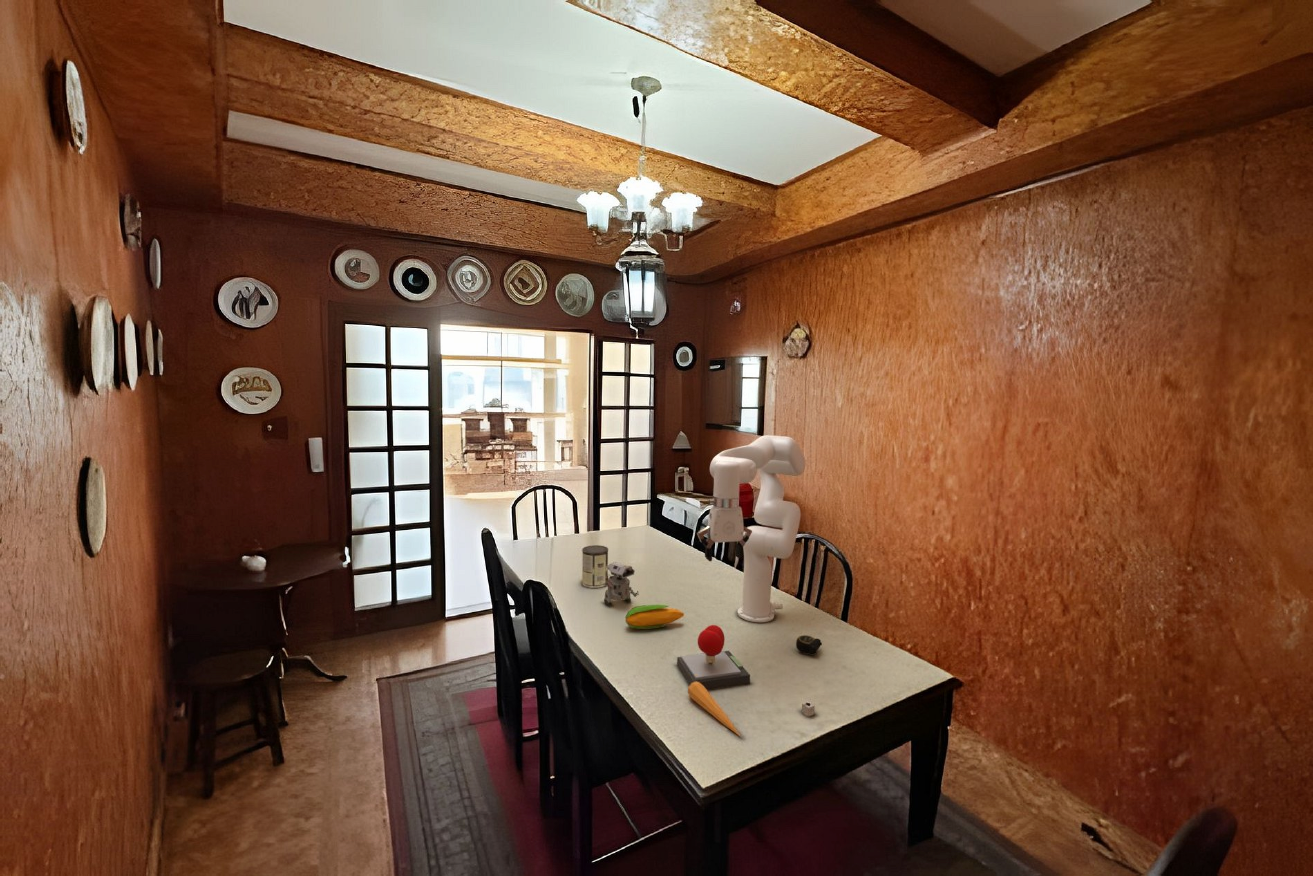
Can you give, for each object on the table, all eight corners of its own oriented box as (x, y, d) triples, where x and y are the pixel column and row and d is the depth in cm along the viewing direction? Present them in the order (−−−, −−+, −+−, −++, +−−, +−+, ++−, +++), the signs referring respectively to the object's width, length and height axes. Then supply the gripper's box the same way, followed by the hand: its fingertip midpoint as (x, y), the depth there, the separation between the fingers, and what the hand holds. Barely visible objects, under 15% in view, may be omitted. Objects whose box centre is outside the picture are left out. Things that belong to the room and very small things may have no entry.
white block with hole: (801, 712, 138) (802, 702, 138) (808, 710, 139) (808, 700, 139) (807, 716, 136) (808, 707, 136) (814, 714, 137) (814, 704, 137)
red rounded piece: (714, 674, 148) (715, 638, 147) (691, 666, 152) (692, 631, 151) (728, 659, 156) (730, 625, 155) (706, 653, 160) (707, 619, 159)
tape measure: (814, 659, 165) (815, 647, 164) (792, 652, 168) (793, 640, 168) (821, 650, 170) (822, 638, 170) (799, 643, 174) (800, 632, 174)
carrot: (687, 698, 144) (683, 685, 142) (701, 688, 145) (697, 675, 144) (735, 750, 127) (731, 736, 125) (750, 738, 129) (747, 724, 127)
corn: (623, 602, 184) (680, 597, 189) (622, 623, 185) (679, 618, 190) (628, 613, 176) (687, 607, 182) (627, 635, 178) (686, 628, 183)
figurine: (615, 613, 194) (616, 571, 192) (602, 601, 204) (602, 561, 202) (638, 608, 198) (639, 567, 197) (624, 597, 208) (625, 558, 207)
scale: (728, 658, 164) (728, 648, 163) (749, 683, 150) (750, 672, 150) (677, 665, 159) (677, 654, 159) (694, 691, 146) (694, 679, 145)
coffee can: (592, 577, 228) (593, 543, 227) (613, 582, 223) (613, 548, 222) (576, 584, 220) (576, 549, 218) (596, 590, 214) (597, 554, 213)
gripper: (703, 506, 159) (701, 565, 160) (758, 504, 164) (755, 560, 165) (694, 501, 166) (692, 557, 167) (746, 498, 171) (744, 553, 172)
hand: (723, 558), depth 166 cm, fingers open, 9 cm apart
